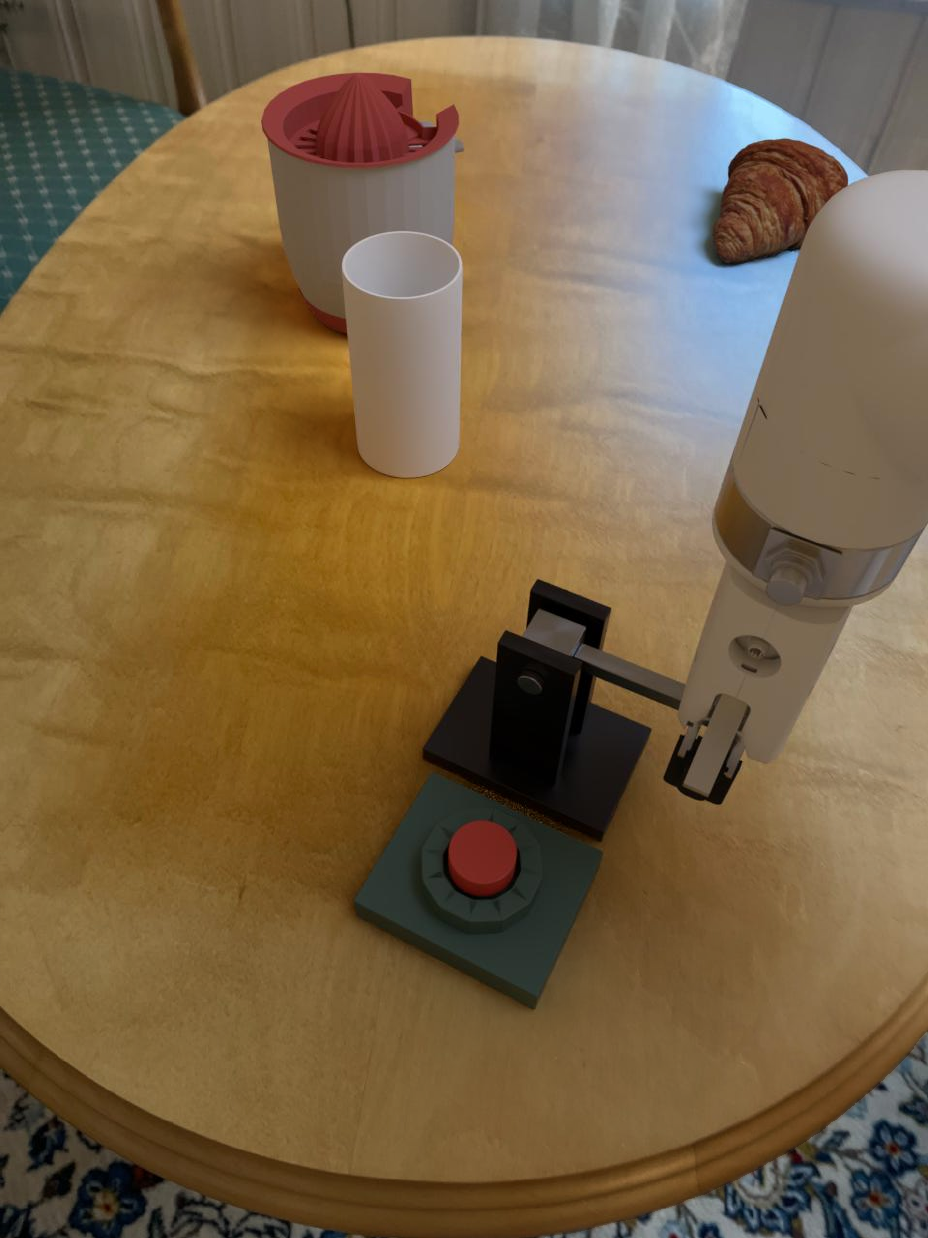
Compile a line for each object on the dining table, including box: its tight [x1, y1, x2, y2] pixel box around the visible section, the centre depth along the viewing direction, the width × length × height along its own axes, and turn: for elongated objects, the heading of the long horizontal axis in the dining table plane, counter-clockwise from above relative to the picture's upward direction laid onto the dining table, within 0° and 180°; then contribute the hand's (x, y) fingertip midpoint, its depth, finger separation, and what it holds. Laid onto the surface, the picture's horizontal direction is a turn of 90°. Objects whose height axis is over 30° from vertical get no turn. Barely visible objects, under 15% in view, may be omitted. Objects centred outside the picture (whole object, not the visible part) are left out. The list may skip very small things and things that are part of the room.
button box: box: [353, 771, 604, 1010], centre depth 54 cm, size 11×9×4 cm
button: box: [448, 820, 517, 897], centre depth 52 cm, size 4×4×2 cm
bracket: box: [422, 578, 653, 843], centre depth 56 cm, size 12×8×13 cm, turn 63°
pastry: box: [712, 137, 849, 265], centre depth 97 cm, size 17×15×8 cm
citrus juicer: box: [260, 72, 465, 334], centre depth 83 cm, size 16×17×20 cm
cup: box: [342, 231, 464, 479], centre depth 72 cm, size 8×8×16 cm
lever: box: [522, 609, 736, 753], centre depth 51 cm, size 12×5×2 cm, turn 63°
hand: (711, 744), depth 52 cm, fingers closed on lever, 5 cm apart
